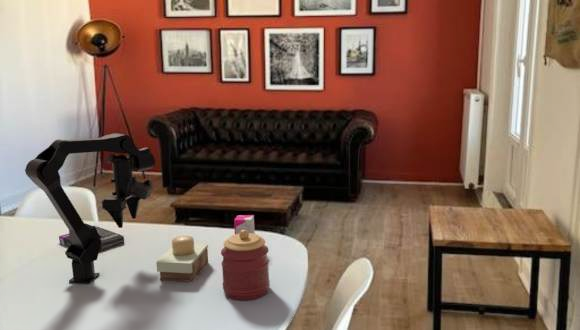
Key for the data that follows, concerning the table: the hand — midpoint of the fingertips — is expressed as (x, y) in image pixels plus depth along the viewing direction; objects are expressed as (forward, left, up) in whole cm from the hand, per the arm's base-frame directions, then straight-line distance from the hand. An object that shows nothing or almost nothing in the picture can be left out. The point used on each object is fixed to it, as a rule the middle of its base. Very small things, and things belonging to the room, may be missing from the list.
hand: (127, 222), depth 172 cm
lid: (-6, -20, -10) cm, 23 cm away
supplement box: (+14, -34, -13) cm, 39 cm away
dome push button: (-5, -20, -7) cm, 22 cm away
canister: (-16, -42, -13) cm, 47 cm away
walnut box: (-5, -20, -13) cm, 24 cm away
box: (+15, +22, -14) cm, 30 cm away
